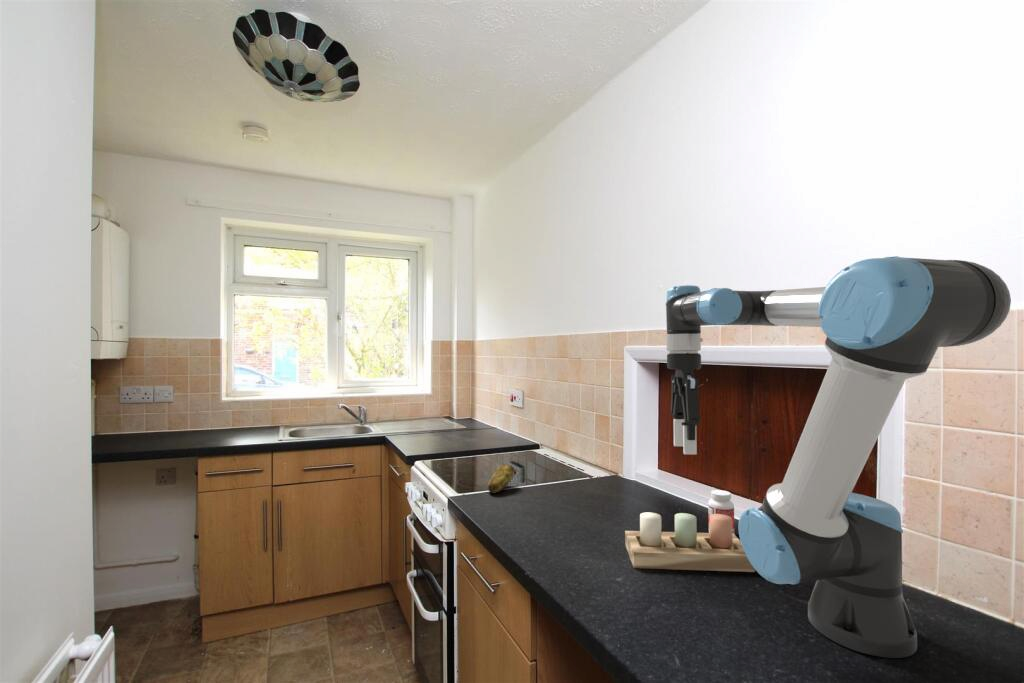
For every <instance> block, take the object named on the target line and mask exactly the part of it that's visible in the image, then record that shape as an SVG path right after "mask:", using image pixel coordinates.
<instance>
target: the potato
mask: <svg viewBox="0 0 1024 683" xmlns="http://www.w3.org/2000/svg"><path fill="white" fill-rule="evenodd" d="M514 476H515V469H514V467H513V466H512V465H509V464H501V465H500V466H498V467H497V469H496V470H495V471H494V473H493V474H492V476H491V478H490V479H489V481H488V482H487V490H488V492H489V493H491V492H492V493H491V494H493V493H494V494H497V493H499V492H500V491H502V490H504V488H506V487H507V486H508V485H509V484H510V482H511V481H513V479H514ZM496 492H497V493H496Z"/></svg>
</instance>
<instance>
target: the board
mask: <svg viewBox="0 0 1024 683" xmlns="http://www.w3.org/2000/svg"><path fill="white" fill-rule="evenodd" d="M624 536H625V538H624V541H625V542H624V543H625V544H624V545H625V548H626V550H627V554H628V556H629V560H630V561H631V565H632V566H633V568H634V569H654V570H681V571H682V570H683V571H686V570H688V571H711V572H712V571H717V572H744V573H745V572H747V573H755V572H756V570H755V569H754V567H753V566H752V564H751V563H750V562H749V560H748V558H747V556H746V554H745V552H744V550H743V547H742V544H741V541H740V538H738V536H736V534H735V533H734V534H732V539H733V546H732V547H730V548H720V547H716V546H714V545H712V544H711V543H710V533H709V532H697V545H696V546H694V547H684V546H680V545H678V544H676V543H675V531H661V540H662V543H661V544H660V545H658V546H649V545H645V544H643V543H641V541H640V530H624Z"/></svg>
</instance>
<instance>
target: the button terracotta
mask: <svg viewBox="0 0 1024 683" xmlns="http://www.w3.org/2000/svg"><path fill="white" fill-rule="evenodd" d="M710 543H711V544H712V545H714V546H716V547H720V548H730V547H732V546H733V539H732V518H731V517H729V516H727V515H723V514H712V515H710Z"/></svg>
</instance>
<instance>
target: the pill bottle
mask: <svg viewBox="0 0 1024 683" xmlns="http://www.w3.org/2000/svg"><path fill="white" fill-rule="evenodd" d="M731 494H732V493H731V492H729V491H727V490H721V489H713V490H711V491H710V497H711V498H710V499H709V500H708V502H707V504H708V507H707V508H708V512H707V513H708V533H710V515H712V514H723V515H727V516H729V517H731V518H732V534H734V535H735V532H736V531H735V506H734V503H733V502H732V501H731V498H732V495H731Z"/></svg>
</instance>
